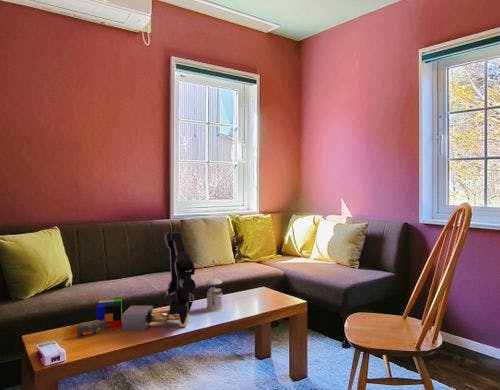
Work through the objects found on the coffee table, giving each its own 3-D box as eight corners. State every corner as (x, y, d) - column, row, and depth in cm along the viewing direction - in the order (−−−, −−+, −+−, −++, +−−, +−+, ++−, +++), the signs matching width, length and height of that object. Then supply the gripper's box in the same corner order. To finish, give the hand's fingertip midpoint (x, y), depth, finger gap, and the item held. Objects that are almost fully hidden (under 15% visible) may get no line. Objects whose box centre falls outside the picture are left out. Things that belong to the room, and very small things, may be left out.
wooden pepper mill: (151, 321, 179) (150, 308, 179) (188, 321, 179) (188, 308, 179) (147, 326, 173) (147, 313, 173) (186, 326, 173) (186, 313, 173)
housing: (131, 320, 182) (130, 305, 182) (152, 320, 182) (152, 305, 182) (122, 330, 170) (122, 314, 170) (145, 330, 170) (145, 314, 170)
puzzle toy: (96, 330, 171) (96, 307, 171) (99, 322, 181) (98, 300, 181) (121, 327, 174) (120, 305, 174) (122, 320, 183) (121, 298, 183)
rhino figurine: (111, 332, 168) (111, 318, 168) (77, 339, 161) (77, 325, 160) (109, 329, 172) (109, 315, 172) (75, 336, 164) (75, 322, 164)
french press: (225, 306, 203) (225, 258, 202) (222, 313, 192) (221, 262, 191) (207, 305, 204) (206, 257, 203) (202, 313, 193) (201, 262, 192)
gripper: (170, 281, 185) (170, 314, 185) (160, 292, 166) (161, 328, 167) (194, 281, 185) (194, 314, 185) (187, 292, 166) (187, 328, 167)
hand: (184, 321), depth 176 cm, fingers closed on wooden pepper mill, 6 cm apart
